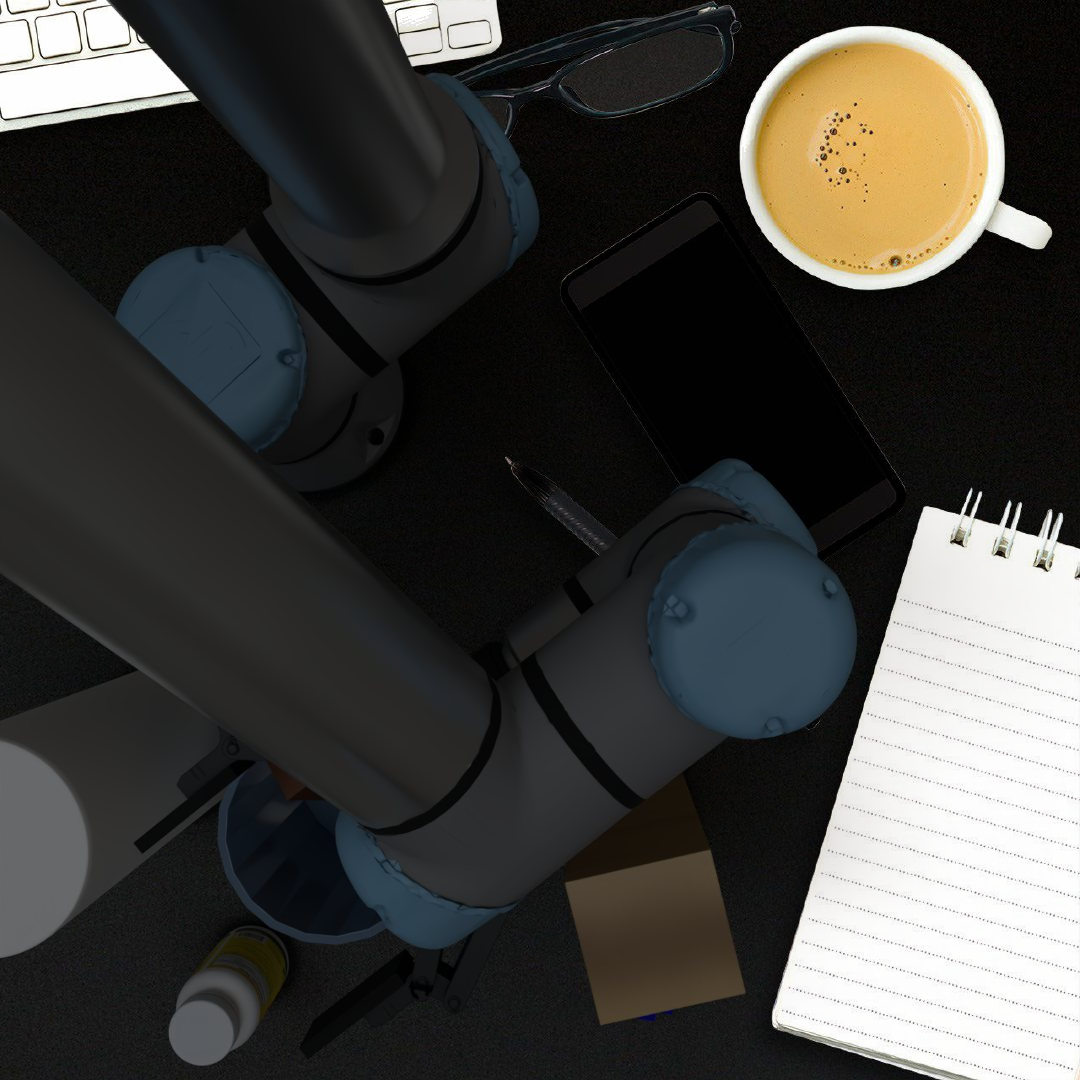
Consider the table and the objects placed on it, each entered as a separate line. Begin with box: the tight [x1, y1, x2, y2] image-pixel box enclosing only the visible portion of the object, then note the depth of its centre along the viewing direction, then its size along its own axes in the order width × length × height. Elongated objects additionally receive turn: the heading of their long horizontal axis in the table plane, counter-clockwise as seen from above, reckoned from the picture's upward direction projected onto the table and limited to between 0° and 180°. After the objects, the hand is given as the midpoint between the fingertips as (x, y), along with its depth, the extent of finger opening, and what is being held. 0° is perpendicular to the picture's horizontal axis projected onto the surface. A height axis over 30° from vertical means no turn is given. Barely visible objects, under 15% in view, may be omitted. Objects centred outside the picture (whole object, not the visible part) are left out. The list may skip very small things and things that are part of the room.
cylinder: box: [0, 669, 227, 959], centre depth 66 cm, size 12×12×25 cm
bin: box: [216, 761, 387, 946], centre depth 69 cm, size 14×14×16 cm
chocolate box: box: [267, 761, 327, 801], centre depth 71 cm, size 5×3×11 cm, turn 128°
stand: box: [564, 772, 747, 1026], centre depth 64 cm, size 8×8×25 cm
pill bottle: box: [168, 924, 290, 1067], centre depth 73 cm, size 6×6×11 cm
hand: (229, 940), depth 51 cm, fingers open, 13 cm apart
